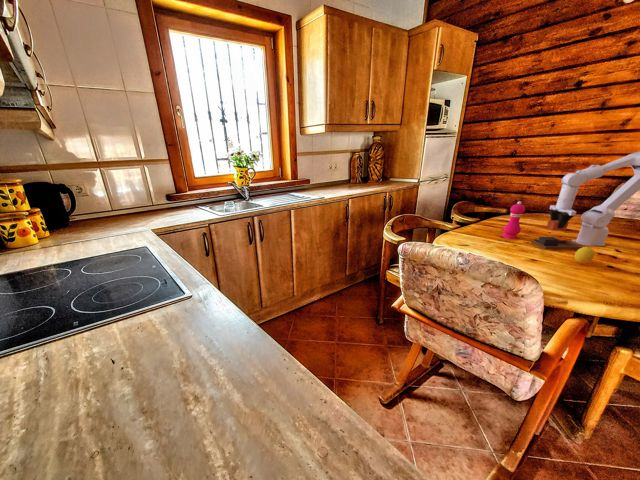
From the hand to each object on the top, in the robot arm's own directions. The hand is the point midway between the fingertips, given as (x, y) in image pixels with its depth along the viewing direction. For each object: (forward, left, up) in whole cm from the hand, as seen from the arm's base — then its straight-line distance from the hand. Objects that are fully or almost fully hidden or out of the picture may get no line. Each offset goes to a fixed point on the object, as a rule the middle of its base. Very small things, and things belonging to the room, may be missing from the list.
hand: (556, 226), depth 139 cm
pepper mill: (+16, -7, -9) cm, 19 cm away
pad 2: (+7, +7, -8) cm, 13 cm away
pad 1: (0, 0, -1) cm, 1 cm away
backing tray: (+3, +7, -8) cm, 12 cm away
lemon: (+7, +29, -9) cm, 31 cm away
